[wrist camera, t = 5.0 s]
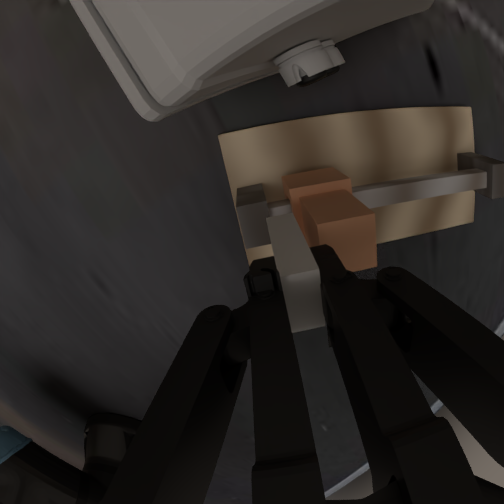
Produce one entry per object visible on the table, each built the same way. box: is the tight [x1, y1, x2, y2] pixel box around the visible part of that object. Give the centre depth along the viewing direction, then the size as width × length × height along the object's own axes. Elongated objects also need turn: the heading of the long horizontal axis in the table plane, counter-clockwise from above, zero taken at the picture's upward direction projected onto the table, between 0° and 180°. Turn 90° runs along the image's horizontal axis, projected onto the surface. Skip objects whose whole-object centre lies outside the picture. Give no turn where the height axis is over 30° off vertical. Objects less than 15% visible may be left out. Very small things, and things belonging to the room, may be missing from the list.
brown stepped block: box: [281, 167, 377, 272], centre depth 19 cm, size 4×4×9 cm
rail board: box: [218, 106, 504, 266], centre depth 23 cm, size 24×12×6 cm, turn 102°
